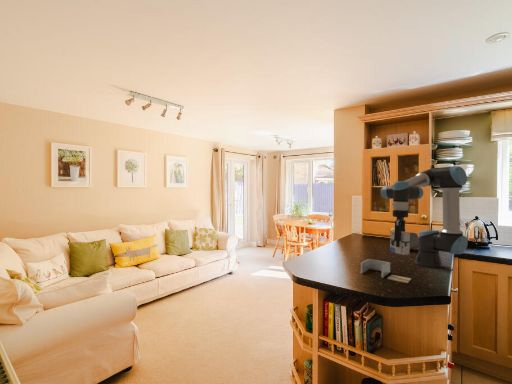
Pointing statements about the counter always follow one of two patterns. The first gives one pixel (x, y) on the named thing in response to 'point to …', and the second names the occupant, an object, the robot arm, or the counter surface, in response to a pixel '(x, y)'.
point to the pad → (399, 278)
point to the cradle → (376, 266)
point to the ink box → (404, 242)
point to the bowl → (413, 240)
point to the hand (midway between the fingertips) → (399, 252)
